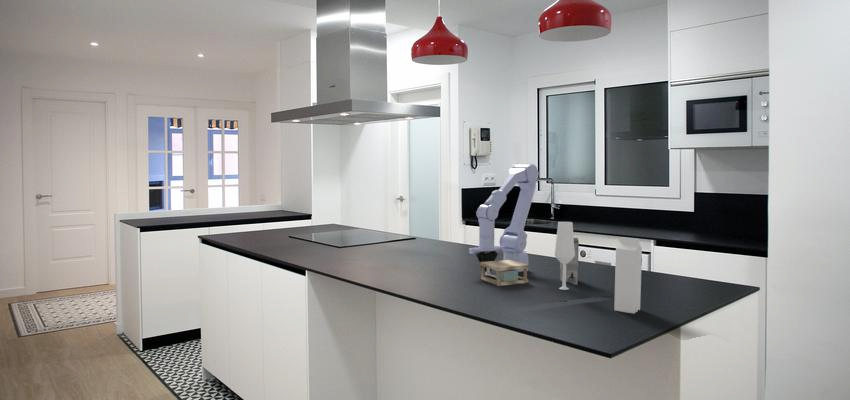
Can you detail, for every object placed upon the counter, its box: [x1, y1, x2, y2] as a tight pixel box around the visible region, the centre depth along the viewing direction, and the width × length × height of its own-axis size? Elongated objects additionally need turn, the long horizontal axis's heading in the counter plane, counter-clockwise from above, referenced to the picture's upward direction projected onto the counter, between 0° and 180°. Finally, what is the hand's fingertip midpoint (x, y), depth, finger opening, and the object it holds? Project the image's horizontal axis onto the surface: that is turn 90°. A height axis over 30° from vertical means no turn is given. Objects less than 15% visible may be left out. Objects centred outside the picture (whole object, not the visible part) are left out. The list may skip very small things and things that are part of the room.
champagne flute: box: [554, 221, 575, 291], centre depth 195 cm, size 7×7×24 cm
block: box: [485, 267, 519, 282], centre depth 212 cm, size 6×18×5 cm, turn 26°
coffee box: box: [559, 237, 580, 286], centre depth 211 cm, size 9×6×16 cm
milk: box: [613, 236, 643, 314], centre depth 172 cm, size 6×6×22 cm
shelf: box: [479, 259, 530, 287], centre depth 211 cm, size 13×20×8 cm, turn 26°
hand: (486, 271), depth 218 cm, fingers closed
